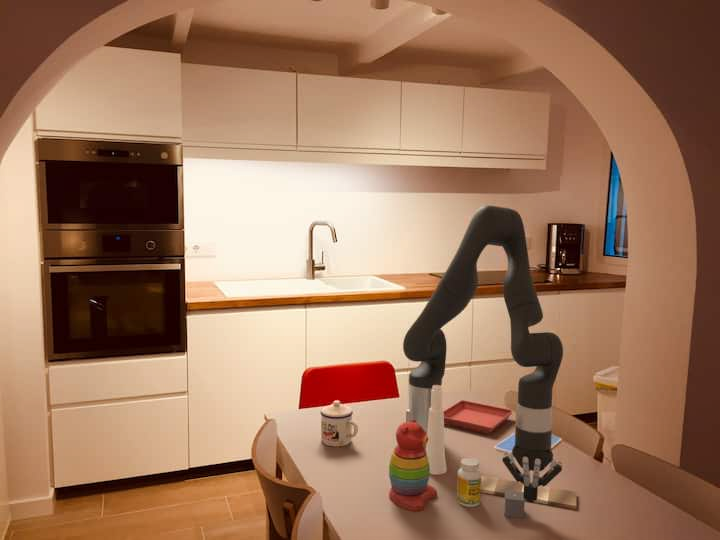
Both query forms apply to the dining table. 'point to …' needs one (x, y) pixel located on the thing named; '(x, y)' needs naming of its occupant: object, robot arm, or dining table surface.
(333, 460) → the dining table surface
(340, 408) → the teacup with lid
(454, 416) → the plant saucer
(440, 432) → the cosmetic bottle
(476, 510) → the dining table surface
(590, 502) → the dining table surface
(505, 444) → the blue flat rectangular panel
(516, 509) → the die
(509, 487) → the track
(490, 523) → the dining table surface
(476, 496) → the supplement bottle
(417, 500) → the stacking bear
